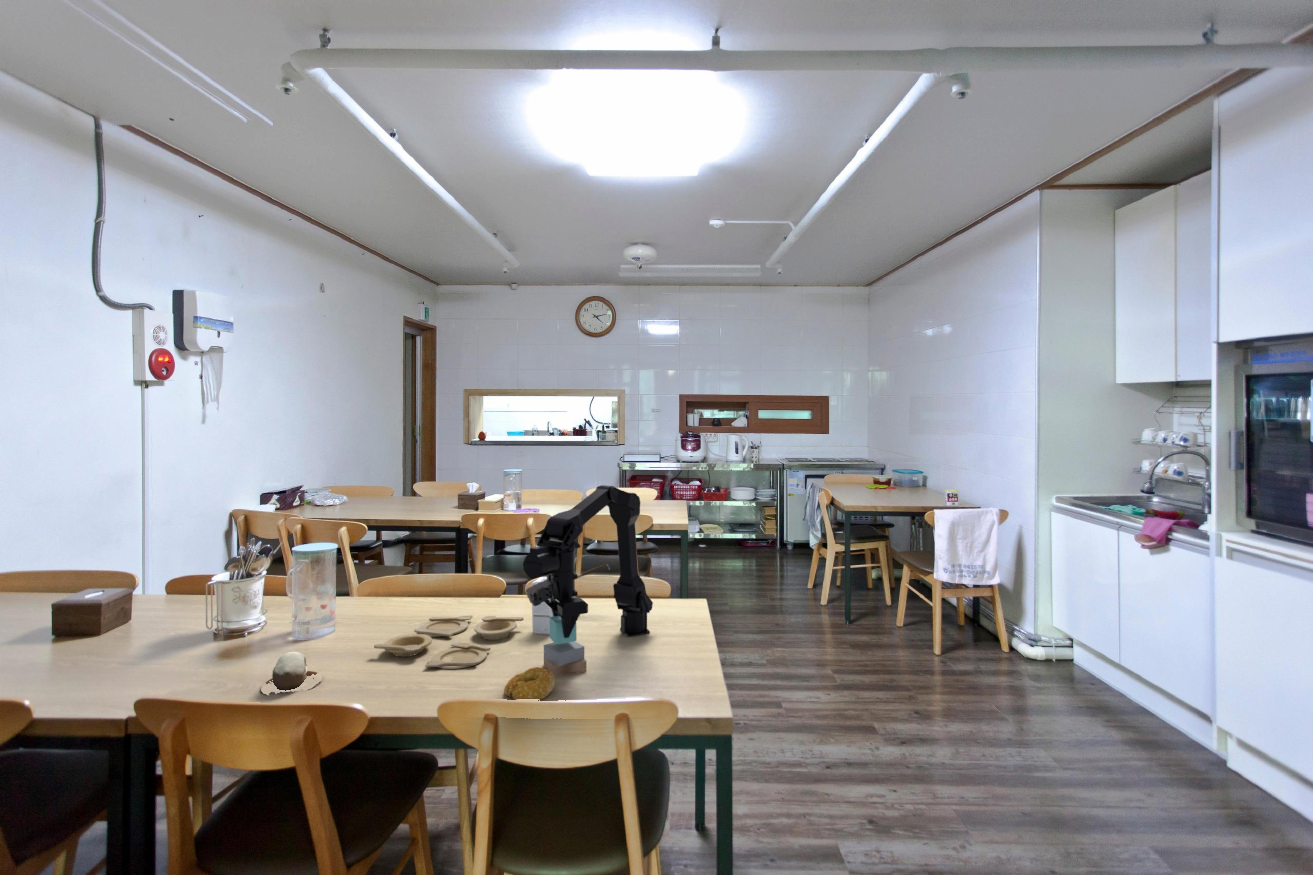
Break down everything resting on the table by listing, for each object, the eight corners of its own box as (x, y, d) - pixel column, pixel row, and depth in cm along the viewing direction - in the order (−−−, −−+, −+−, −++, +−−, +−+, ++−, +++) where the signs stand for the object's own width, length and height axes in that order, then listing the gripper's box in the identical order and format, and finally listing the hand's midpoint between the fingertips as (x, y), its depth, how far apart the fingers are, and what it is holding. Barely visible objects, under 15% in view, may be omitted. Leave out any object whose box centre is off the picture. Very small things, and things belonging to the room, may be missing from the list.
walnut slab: (575, 661, 156) (575, 649, 156) (586, 673, 149) (586, 660, 149) (543, 667, 152) (543, 655, 152) (553, 679, 145) (553, 666, 145)
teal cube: (569, 634, 154) (569, 614, 154) (576, 640, 149) (576, 620, 149) (549, 637, 152) (549, 617, 151) (556, 644, 147) (555, 623, 147)
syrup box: (551, 634, 173) (551, 582, 173) (531, 633, 174) (531, 581, 174) (559, 628, 179) (558, 577, 178) (539, 626, 180) (539, 576, 179)
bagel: (511, 683, 142) (511, 662, 142) (559, 685, 142) (559, 664, 141) (497, 703, 133) (497, 681, 132) (548, 706, 132) (548, 683, 132)
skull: (264, 673, 145) (297, 637, 147) (301, 699, 147) (334, 663, 149) (246, 693, 133) (283, 654, 135) (287, 721, 136) (322, 682, 138)
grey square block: (568, 650, 155) (568, 638, 155) (584, 658, 150) (584, 646, 150) (543, 657, 151) (543, 644, 151) (558, 666, 146) (558, 653, 146)
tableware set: (437, 619, 187) (437, 606, 187) (530, 626, 181) (530, 612, 181) (358, 665, 153) (358, 649, 153) (469, 676, 147) (469, 659, 147)
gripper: (518, 564, 154) (519, 627, 155) (541, 582, 138) (541, 653, 138) (562, 559, 159) (562, 620, 160) (588, 576, 143) (589, 644, 143)
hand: (562, 634), depth 150 cm, fingers closed on teal cube, 5 cm apart
